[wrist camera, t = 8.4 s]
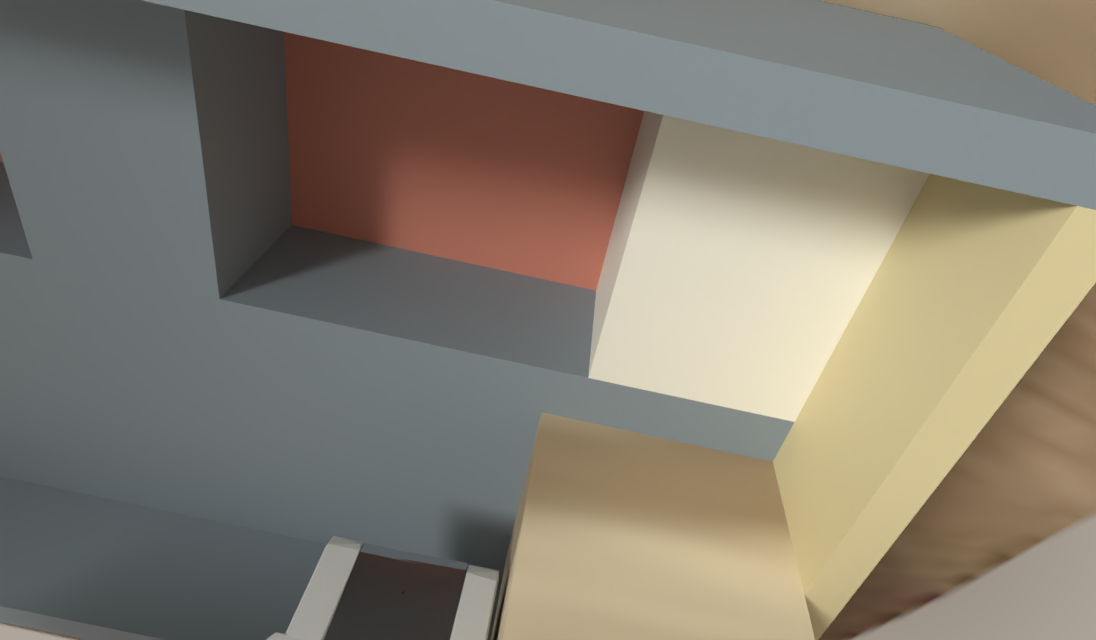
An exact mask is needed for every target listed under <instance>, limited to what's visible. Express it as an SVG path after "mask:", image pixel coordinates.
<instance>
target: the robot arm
mask: <svg viewBox="0 0 1096 640" xmlns="http://www.w3.org/2000/svg"><path fill="white" fill-rule="evenodd" d="M467 567H468V569H467ZM498 581H499V570H495V569H490V568H485V567H480V566H475V565H468V563H464V562H459V561H454V560H449V559H443V558H438V557H433V556H428V555H423V554H418V553H412V552H405V551H400V550H396V549H391V548H387V547H382V546H377V545H373V544H368V543H365V542H362V541H357V540H352V539H347V538H342V537H337V536H333V537H332V538H331V540H330V541H329V542H328V544H327V545H326V547H325V549H324V551H323V553H322V556H321V558H320V560H319V562H318V564H317V566H316V569H315V571H314V573H313V575H312V577H311V579H310V582H309V584H308V586H307V588H306V590H305V592H304V594H303V597H302V599H301V601H300V603H299V605H298V607H297V610H296V612H295V614H294V616H293V618H292V620H291V623H290V625H289V627H288V629H287V631H286V633H279V632H275V633H274V634H273V635H271V636H270V637H269V638H267V639H266V640H487V638H488V633H489V627H490V622H491V617H492V612H493V607H494V601H495V596H496V591H497V586H498Z"/></svg>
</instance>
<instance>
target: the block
mask: <svg viewBox="0 0 1096 640" xmlns="http://www.w3.org/2000/svg"><path fill="white" fill-rule="evenodd" d="M491 640H815V638H814V633H813V629H812V625H811V621H810V617H809V612H808V608H807V604H806V600H805V595H804V591H803V587H802V583H801V579H800V575H799V570H798V566H797V562H796V558H795V554H794V549H793V545H792V541H791V537H790V532H789V528H788V524H787V520H786V516H785V511H784V507H783V503H782V499H781V494H780V490H779V486H778V482H777V478H776V473H775V469H774V465H773V462H771V461H767V460H762V459H757V458H753V457H748V456H743V455H739V454H734V453H729V452H725V451H720V450H715V449H710V448H706V447H701V446H696V445H692V444H687V443H682V442H678V441H673V440H668V439H664V438H659V437H654V436H650V435H645V434H640V433H636V432H631V431H626V430H622V429H617V428H612V427H608V426H603V425H598V424H594V423H589V422H584V421H580V420H575V419H570V418H566V417H561V416H556V415H551V414H547V413H541V417H540V421H539V425H538V429H537V433H536V437H535V441H534V445H533V449H532V454H531V458H530V462H529V466H528V470H527V474H526V478H525V482H524V486H523V490H522V494H521V499H520V503H519V507H518V511H517V515H516V519H515V523H514V527H513V531H512V535H511V539H510V544H509V548H508V552H507V556H506V561H505V567H504V572H503V577H502V583H501V588H500V593H499V599H498V604H497V609H496V615H495V620H494V625H493V631H492V636H491Z"/></svg>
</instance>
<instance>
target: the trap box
mask: <svg viewBox="0 0 1096 640" xmlns="http://www.w3.org/2000/svg"><path fill="white" fill-rule="evenodd" d="M1095 283H1096V106H1094V105H1093V104H1091V103H1089V102H1087V101H1085V100H1083V99H1081V98H1079V97H1077V96H1075V95H1073V94H1071V93H1069V92H1067V91H1065V90H1063V89H1061V88H1059V87H1057V86H1055V85H1053V84H1051V83H1049V82H1047V81H1045V80H1043V79H1041V78H1039V77H1037V76H1035V75H1033V74H1031V73H1029V72H1027V71H1025V70H1023V69H1021V68H1019V67H1017V66H1015V65H1013V64H1011V63H1009V62H1007V61H1005V60H1003V59H1001V58H999V57H997V56H995V55H993V54H991V53H989V52H987V51H985V50H983V49H981V48H979V47H977V46H975V45H973V44H971V43H969V42H967V41H965V40H963V39H961V38H959V37H957V36H955V35H953V34H951V33H949V32H947V31H945V30H943V29H941V28H939V27H934V26H930V25H925V24H921V23H916V22H912V21H907V20H903V19H898V18H894V17H889V16H885V15H880V14H876V13H871V12H867V11H862V10H858V9H853V8H849V7H845V6H840V5H836V4H831V3H827V2H822V1H818V0H0V623H5V624H10V625H15V626H20V627H24V628H29V629H34V630H39V631H44V632H49V633H54V634H59V635H63V636H68V637H73V638H78V639H83V640H266V639H267V638H269V637H270V636H271V635H273V634H274V633H275V632H279V633H286V631H287V629H288V627H289V625H290V623H291V620H292V618H293V616H294V614H295V612H296V610H297V607H298V605H299V603H300V601H301V599H302V597H303V594H304V592H305V590H306V588H307V586H308V584H309V582H310V579H311V577H312V575H313V573H314V571H315V569H316V566H317V564H318V562H319V560H320V558H321V556H322V553H323V551H324V549H325V547H326V545H327V544H328V542H329V541H330V540H331V538H332V537H333V536H337V537H342V538H347V539H352V540H357V541H362V542H365V543H368V544H373V545H377V546H382V547H387V548H391V549H396V550H400V551H405V552H412V553H418V554H423V555H428V556H433V557H438V558H443V559H449V560H454V561H459V562H464V563H468V565H475V566H480V567H485V568H490V569H495V570H499V581H498V586H497V591H496V596H495V601H494V607H493V612H492V617H491V622H490V627H489V633H488V638H487V640H491V636H492V631H493V625H494V620H495V615H496V609H497V604H498V599H499V593H500V588H501V583H502V577H503V572H504V567H505V561H506V556H507V552H508V548H509V544H510V539H511V535H512V531H513V527H514V523H515V519H516V515H517V511H518V507H519V503H520V499H521V494H522V490H523V486H524V482H525V478H526V474H527V470H528V466H529V462H530V458H531V454H532V449H533V445H534V441H535V437H536V433H537V429H538V425H539V421H540V417H541V413H547V414H551V415H556V416H561V417H566V418H570V419H575V420H580V421H584V422H589V423H594V424H598V425H603V426H608V427H612V428H617V429H622V430H626V431H631V432H636V433H640V434H645V435H650V436H654V437H659V438H664V439H668V440H673V441H678V442H682V443H687V444H692V445H696V446H701V447H706V448H710V449H715V450H720V451H725V452H729V453H734V454H739V455H743V456H748V457H753V458H757V459H762V460H767V461H771V462H773V465H774V469H775V473H776V478H777V482H778V486H779V490H780V494H781V499H782V503H783V507H784V511H785V516H786V520H787V524H788V528H789V532H790V537H791V541H792V545H793V549H794V554H795V558H796V562H797V566H798V570H799V575H800V579H801V583H802V587H803V591H804V595H805V600H806V604H807V608H808V612H809V617H810V621H811V625H812V629H813V633H814V638H815V640H819V638H820V637H821V636H822V634H823V633H824V632H825V631H826V629H827V628H828V627H829V625H830V624H831V623H832V622H833V620H834V619H835V618H836V616H837V615H838V614H839V613H840V611H841V610H842V609H843V607H844V606H845V605H846V603H847V602H848V601H849V600H850V598H851V597H852V596H853V594H854V593H855V592H856V591H857V589H858V588H859V587H860V585H861V584H862V583H863V582H864V580H865V579H866V578H867V576H868V575H869V574H870V573H871V571H872V570H873V569H874V567H875V566H876V565H877V564H878V562H879V561H880V560H881V558H882V557H883V556H884V555H885V553H886V552H887V551H888V549H889V548H890V547H891V546H892V544H893V543H894V542H895V540H896V539H897V538H898V537H899V535H900V534H901V533H902V531H903V530H904V529H905V528H906V526H907V525H908V524H909V522H910V521H911V520H912V518H913V517H914V516H915V515H916V513H917V512H918V511H919V509H920V508H921V507H922V506H923V504H924V503H925V502H926V500H927V499H928V498H929V497H930V495H931V494H932V493H933V491H934V490H935V489H936V488H937V486H938V485H939V484H940V482H941V481H942V480H943V479H944V477H945V476H946V475H947V473H948V472H949V471H950V470H951V468H952V467H953V466H954V464H955V463H956V462H957V461H958V459H959V458H960V457H961V455H962V454H963V453H964V452H965V450H966V449H967V448H968V446H969V445H970V444H971V442H972V441H973V440H974V439H975V437H976V436H977V435H978V433H979V432H980V431H981V430H982V428H983V427H984V426H985V424H986V423H987V422H988V421H989V419H990V418H991V417H992V415H993V414H994V413H995V412H996V410H997V409H998V408H999V406H1000V405H1001V404H1002V403H1003V401H1004V400H1005V399H1006V397H1007V396H1008V395H1009V394H1010V392H1011V391H1012V390H1013V388H1014V387H1015V386H1016V385H1017V383H1018V382H1019V381H1020V379H1021V378H1022V377H1023V376H1024V374H1025V373H1026V372H1027V370H1028V369H1029V368H1030V367H1031V365H1032V364H1033V363H1034V361H1035V360H1036V359H1037V357H1038V356H1039V355H1040V354H1041V352H1042V351H1043V350H1044V348H1045V347H1046V346H1047V345H1048V343H1049V342H1050V341H1051V339H1052V338H1053V337H1054V336H1055V334H1056V333H1057V332H1058V330H1059V329H1060V328H1061V327H1062V325H1063V324H1064V323H1065V321H1066V320H1067V319H1068V318H1069V316H1070V315H1071V314H1072V312H1073V311H1074V310H1075V309H1076V307H1077V306H1078V305H1079V303H1080V302H1081V301H1082V300H1083V298H1084V297H1085V296H1086V294H1087V293H1088V292H1089V291H1090V289H1091V288H1092V287H1093V285H1094V284H1095ZM467 569H468V567H467Z"/></svg>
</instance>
